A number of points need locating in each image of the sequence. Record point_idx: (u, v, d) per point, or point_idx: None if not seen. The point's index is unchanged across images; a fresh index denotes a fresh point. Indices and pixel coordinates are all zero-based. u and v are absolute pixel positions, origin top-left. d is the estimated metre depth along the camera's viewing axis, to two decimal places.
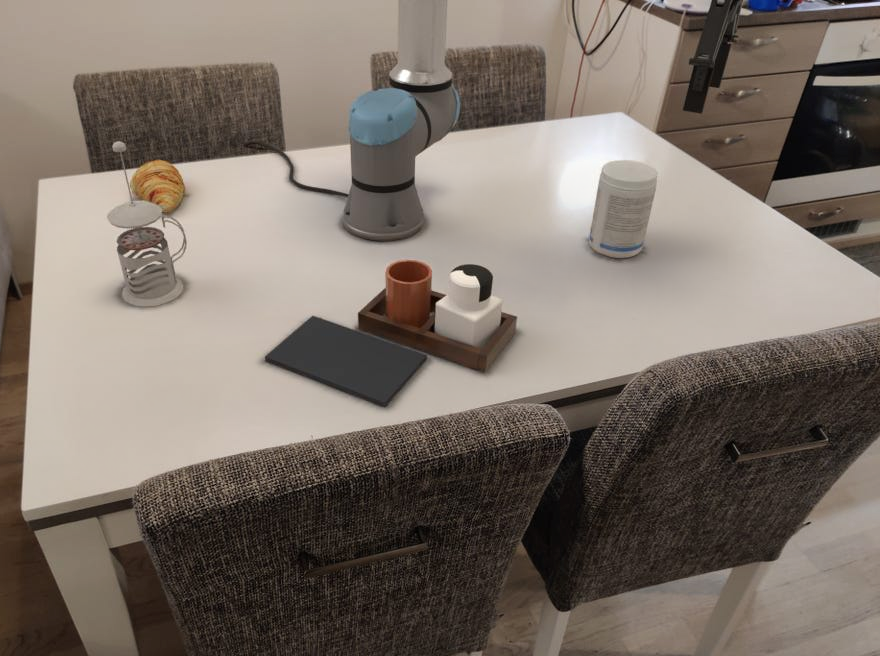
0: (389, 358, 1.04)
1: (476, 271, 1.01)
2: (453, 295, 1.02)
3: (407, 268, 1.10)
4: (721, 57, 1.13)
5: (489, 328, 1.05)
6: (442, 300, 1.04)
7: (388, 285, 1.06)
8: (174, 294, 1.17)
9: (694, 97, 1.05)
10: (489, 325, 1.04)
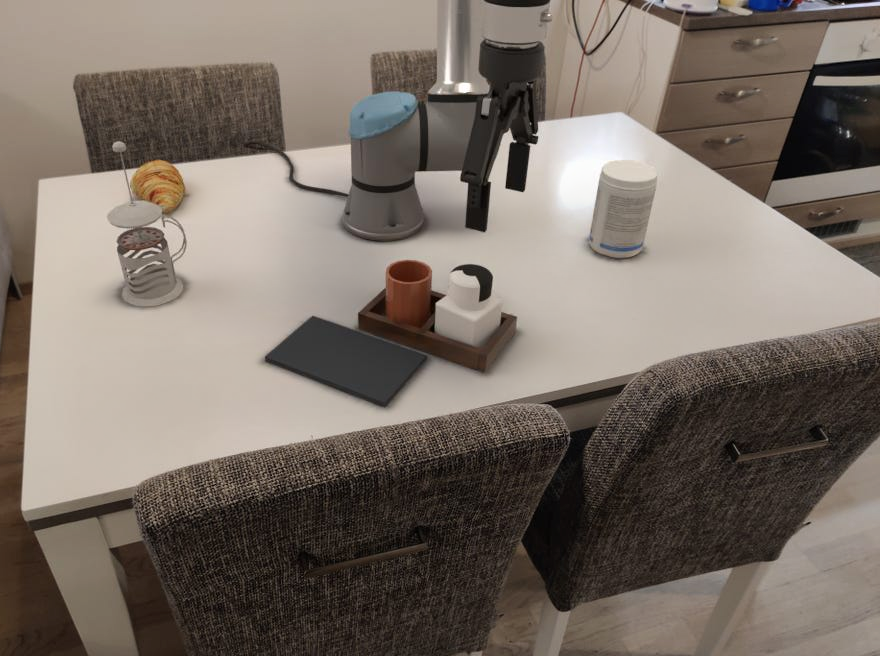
0: (389, 358, 1.04)
1: (476, 271, 1.01)
2: (453, 295, 1.02)
3: (407, 268, 1.10)
4: (521, 159, 0.99)
5: (489, 328, 1.05)
6: (442, 300, 1.04)
7: (388, 285, 1.06)
8: (174, 294, 1.17)
9: (474, 214, 0.91)
10: (489, 324, 1.04)
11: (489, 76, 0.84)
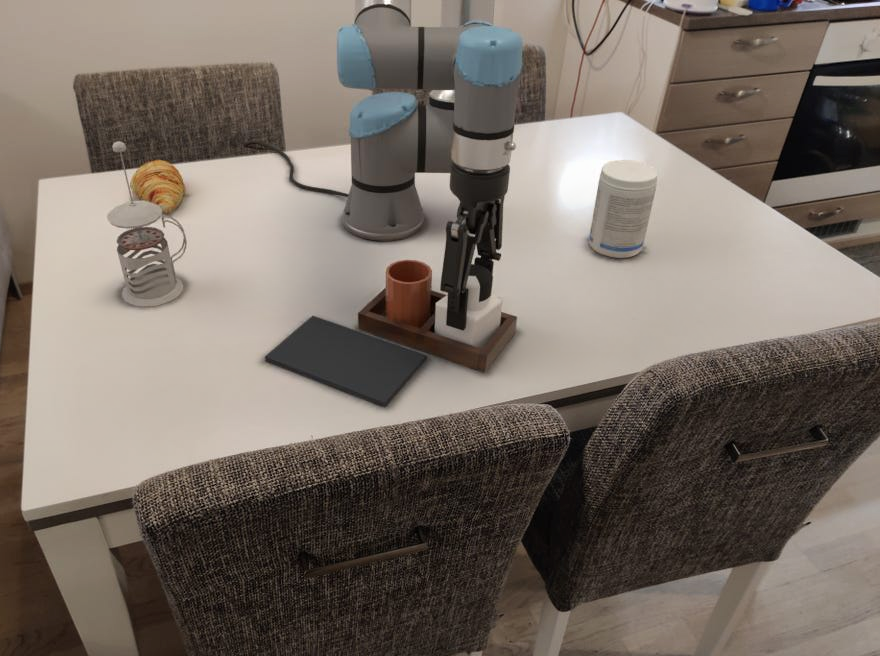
0: (389, 358, 1.04)
1: (476, 271, 1.01)
2: None
3: (407, 268, 1.10)
4: None
5: (489, 328, 1.05)
6: (442, 300, 1.04)
7: (388, 285, 1.06)
8: (174, 294, 1.17)
9: (454, 315, 1.01)
10: (489, 324, 1.04)
11: (458, 195, 0.91)
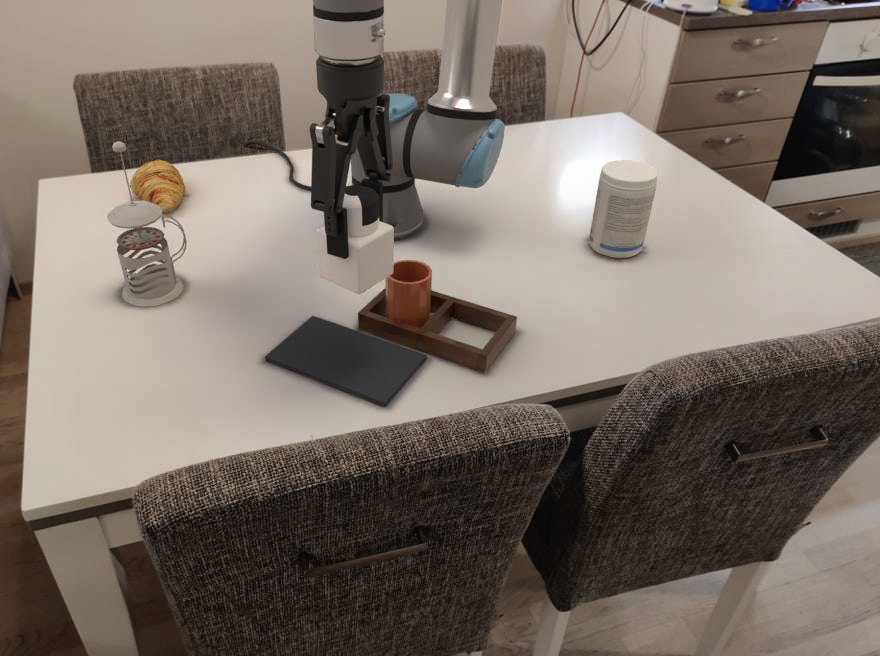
0: (389, 358, 1.04)
1: (360, 191, 0.89)
2: None
3: (407, 268, 1.10)
4: None
5: (378, 258, 0.93)
6: (324, 227, 0.92)
7: (388, 285, 1.06)
8: (174, 294, 1.17)
9: (334, 241, 0.89)
10: (378, 254, 0.92)
11: (324, 93, 0.79)
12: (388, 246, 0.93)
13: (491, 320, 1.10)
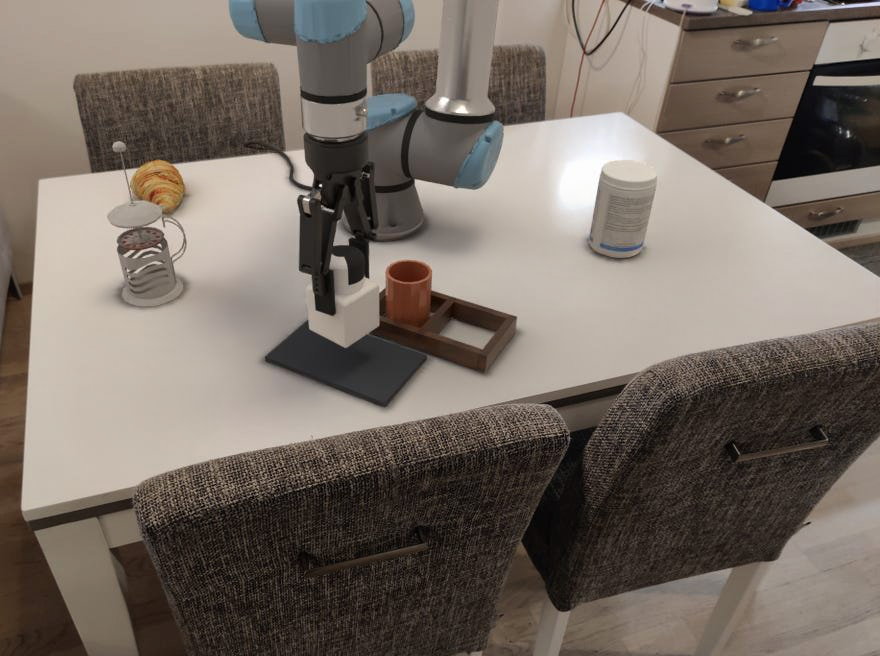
0: (389, 358, 1.04)
1: (346, 252, 0.94)
2: None
3: (407, 268, 1.10)
4: None
5: (364, 314, 0.97)
6: None
7: (388, 285, 1.06)
8: (174, 294, 1.17)
9: (322, 299, 0.94)
10: (364, 310, 0.97)
11: (311, 166, 0.84)
12: (374, 302, 0.98)
13: (491, 320, 1.10)
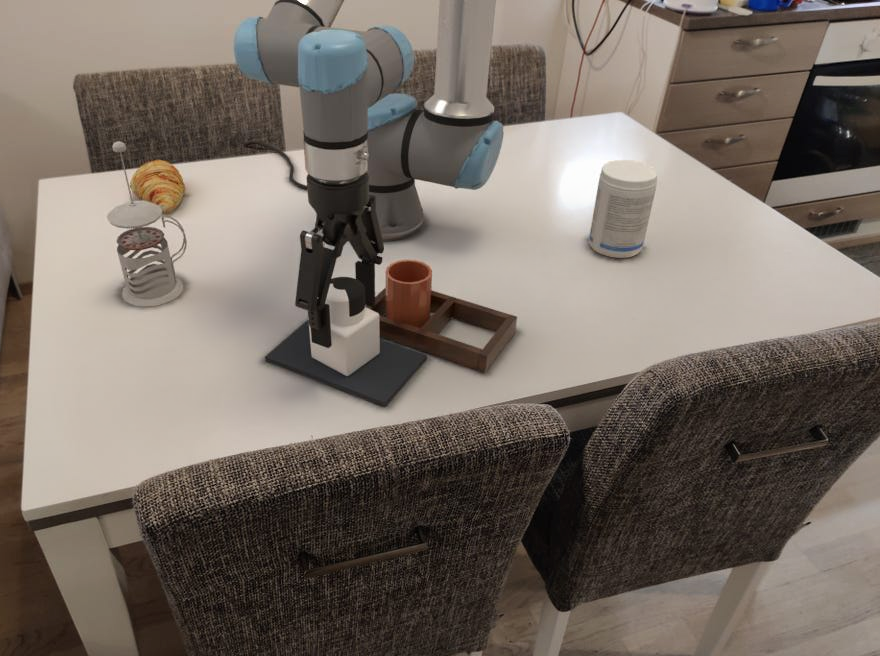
0: (389, 358, 1.04)
1: (347, 284, 0.97)
2: None
3: (407, 268, 1.10)
4: (367, 278, 1.01)
5: (365, 343, 1.00)
6: None
7: (388, 285, 1.06)
8: (174, 294, 1.17)
9: (318, 332, 0.95)
10: (365, 340, 1.00)
11: (314, 207, 0.87)
12: (374, 331, 1.01)
13: (491, 320, 1.10)
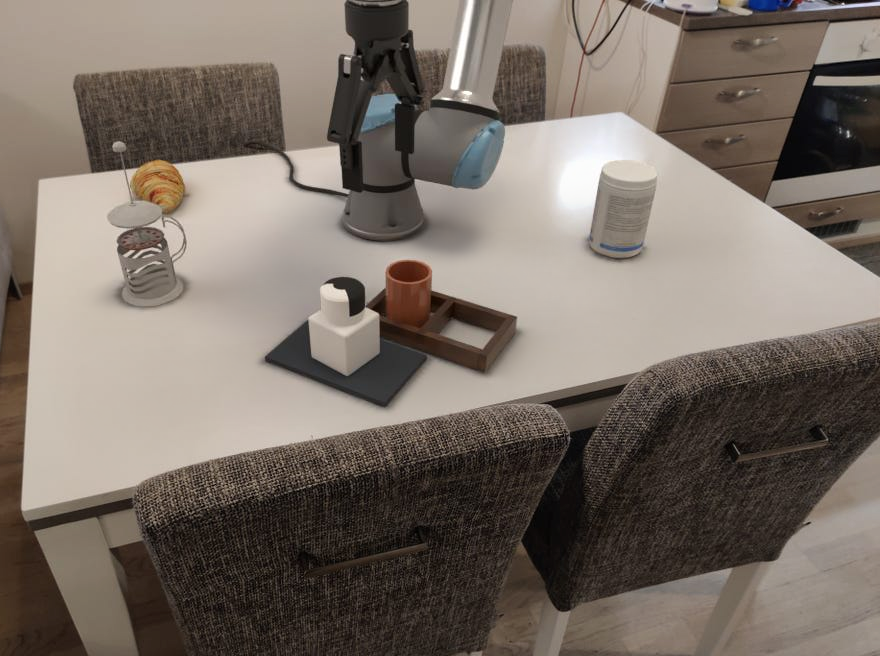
0: (389, 358, 1.04)
1: (347, 284, 0.97)
2: (324, 309, 0.97)
3: (407, 268, 1.10)
4: (406, 120, 0.99)
5: (365, 343, 1.00)
6: (315, 314, 1.00)
7: (388, 285, 1.06)
8: (174, 294, 1.17)
9: (349, 175, 0.92)
10: (365, 340, 1.00)
11: (353, 34, 0.84)
12: (374, 331, 1.01)
13: (491, 320, 1.10)
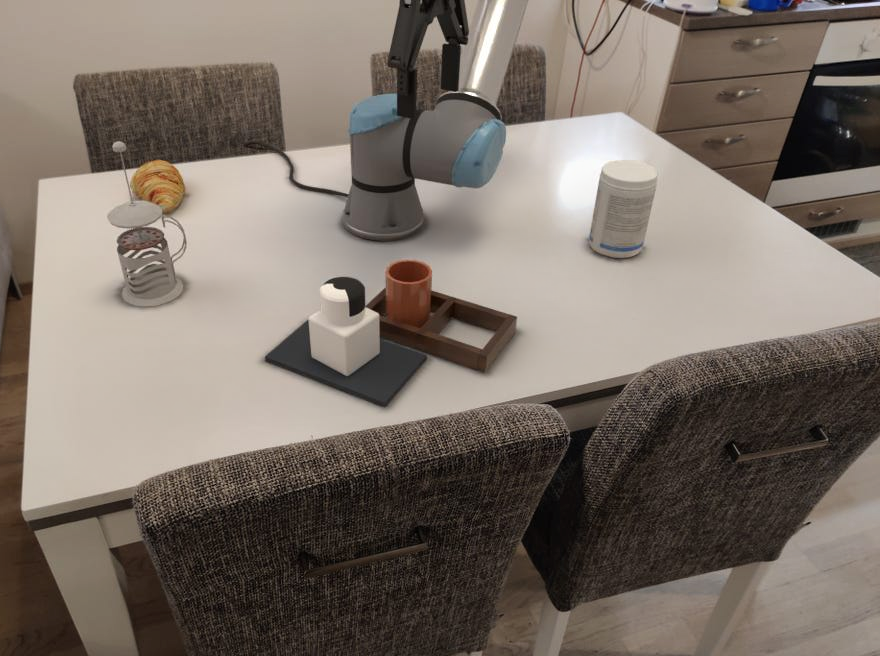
0: (389, 358, 1.04)
1: (347, 284, 0.97)
2: (324, 309, 0.97)
3: (407, 268, 1.10)
4: (453, 59, 1.08)
5: (365, 343, 1.00)
6: (315, 314, 1.00)
7: (388, 285, 1.06)
8: (174, 294, 1.17)
9: (404, 102, 1.00)
10: (365, 340, 1.00)
11: None
12: (374, 331, 1.01)
13: (491, 320, 1.10)
